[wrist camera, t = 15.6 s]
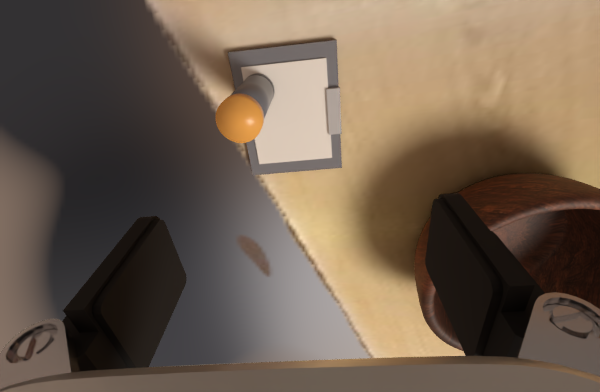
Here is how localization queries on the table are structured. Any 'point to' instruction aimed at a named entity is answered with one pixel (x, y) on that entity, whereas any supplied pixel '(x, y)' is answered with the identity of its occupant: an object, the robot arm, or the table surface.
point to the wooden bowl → (529, 237)
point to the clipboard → (295, 106)
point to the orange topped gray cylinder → (245, 109)
